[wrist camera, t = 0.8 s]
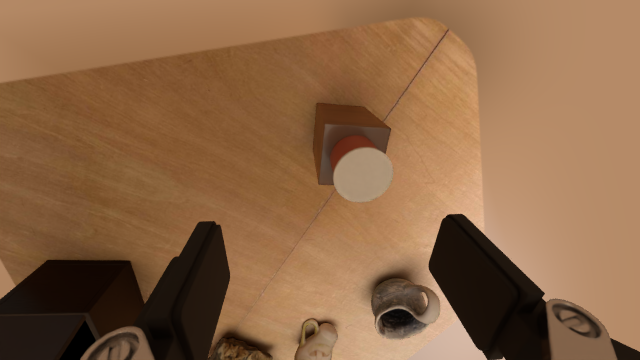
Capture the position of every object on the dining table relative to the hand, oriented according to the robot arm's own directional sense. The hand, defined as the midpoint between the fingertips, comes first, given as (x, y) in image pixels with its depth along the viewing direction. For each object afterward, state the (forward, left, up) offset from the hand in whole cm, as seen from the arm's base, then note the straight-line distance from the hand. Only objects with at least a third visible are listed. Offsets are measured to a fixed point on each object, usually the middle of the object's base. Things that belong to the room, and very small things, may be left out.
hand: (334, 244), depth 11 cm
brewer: (+31, -32, -23) cm, 51 cm away
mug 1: (+44, +5, -23) cm, 50 cm away
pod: (+1, +4, -13) cm, 14 cm away
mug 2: (+29, +18, -23) cm, 41 cm away
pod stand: (+1, +4, -23) cm, 23 cm away
